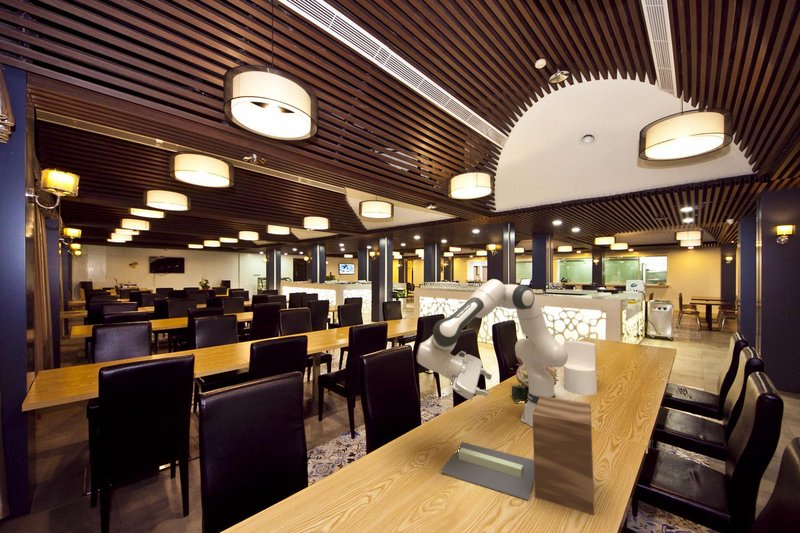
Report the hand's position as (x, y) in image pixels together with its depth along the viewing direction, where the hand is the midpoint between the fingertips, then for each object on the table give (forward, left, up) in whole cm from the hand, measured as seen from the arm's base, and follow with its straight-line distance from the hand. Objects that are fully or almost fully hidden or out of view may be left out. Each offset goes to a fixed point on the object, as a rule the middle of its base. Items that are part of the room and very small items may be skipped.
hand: (489, 385), depth 122 cm
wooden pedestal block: (+9, +23, -29) cm, 38 cm away
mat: (+2, 0, -29) cm, 29 cm away
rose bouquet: (-73, +24, -29) cm, 82 cm away
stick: (+2, -1, -29) cm, 29 cm away
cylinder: (-93, +52, -29) cm, 111 cm away
